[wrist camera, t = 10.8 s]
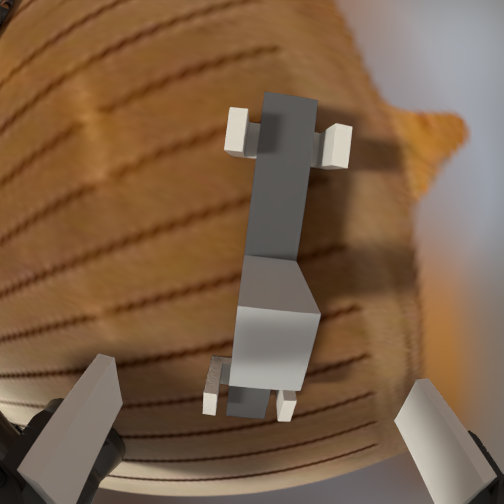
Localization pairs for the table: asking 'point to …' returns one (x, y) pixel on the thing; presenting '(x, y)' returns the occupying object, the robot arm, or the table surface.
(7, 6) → the decorative handgun
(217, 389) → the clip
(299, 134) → the bar
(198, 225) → the table surface
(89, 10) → the table surface
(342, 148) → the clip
